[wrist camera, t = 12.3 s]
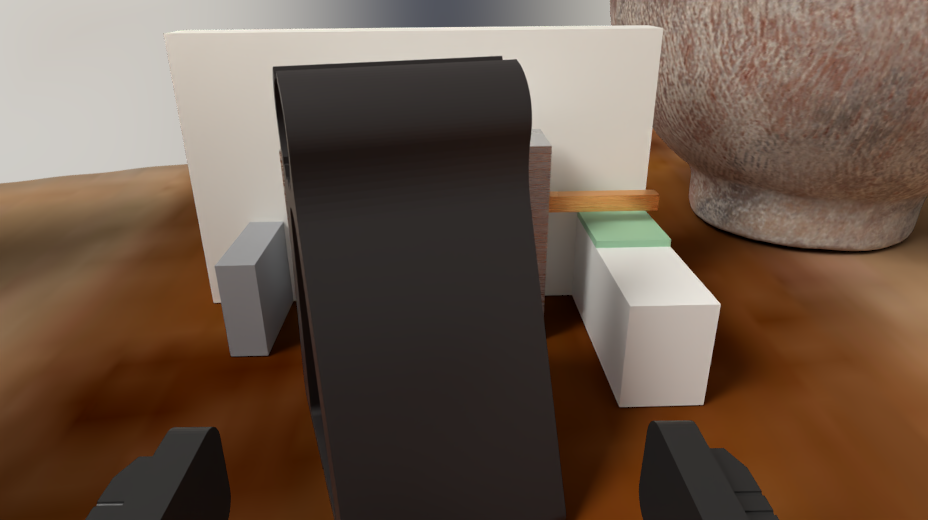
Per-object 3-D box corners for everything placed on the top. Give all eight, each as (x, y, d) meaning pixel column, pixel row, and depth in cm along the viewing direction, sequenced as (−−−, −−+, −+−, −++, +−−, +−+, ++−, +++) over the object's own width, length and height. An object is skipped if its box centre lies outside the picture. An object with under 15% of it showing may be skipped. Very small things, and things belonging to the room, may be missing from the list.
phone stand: (566, 528, 17) (600, 79, 13) (348, 594, 16) (291, 98, 11) (459, 361, 25) (455, 43, 20) (305, 391, 23) (261, 51, 19)
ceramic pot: (1154, 256, 34) (1416, -309, 25) (826, 358, 25) (1039, -467, 16) (777, 153, 55) (839, -173, 46) (525, 188, 46) (537, -208, 37)
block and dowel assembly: (303, 340, 26) (278, 150, 23) (315, 306, 29) (296, 132, 26) (660, 331, 27) (685, 143, 24) (640, 299, 30) (660, 127, 26)
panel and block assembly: (129, 420, 22) (32, 57, 17) (226, 284, 32) (182, 29, 27) (703, 404, 22) (765, 48, 18) (623, 275, 32) (648, 25, 28)
